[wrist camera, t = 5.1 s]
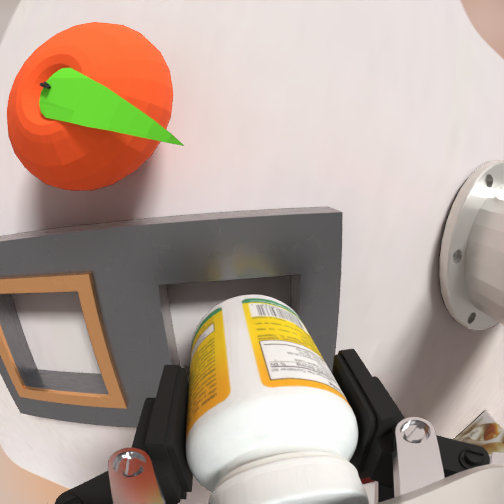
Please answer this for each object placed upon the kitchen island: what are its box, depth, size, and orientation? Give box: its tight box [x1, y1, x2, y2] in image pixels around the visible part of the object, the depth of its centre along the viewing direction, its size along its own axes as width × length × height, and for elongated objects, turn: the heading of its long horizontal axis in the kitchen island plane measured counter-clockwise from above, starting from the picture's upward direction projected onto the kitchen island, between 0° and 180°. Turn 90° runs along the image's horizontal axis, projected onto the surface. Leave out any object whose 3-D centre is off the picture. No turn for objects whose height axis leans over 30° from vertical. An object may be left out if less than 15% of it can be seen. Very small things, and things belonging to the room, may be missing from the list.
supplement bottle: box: [186, 294, 369, 504], centre depth 10 cm, size 5×5×10 cm
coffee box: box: [453, 410, 504, 455], centre depth 17 cm, size 9×6×16 cm
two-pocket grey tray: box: [0, 207, 342, 428], centre depth 15 cm, size 21×12×2 cm, turn 93°
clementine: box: [7, 22, 184, 191], centre depth 10 cm, size 8×7×7 cm
